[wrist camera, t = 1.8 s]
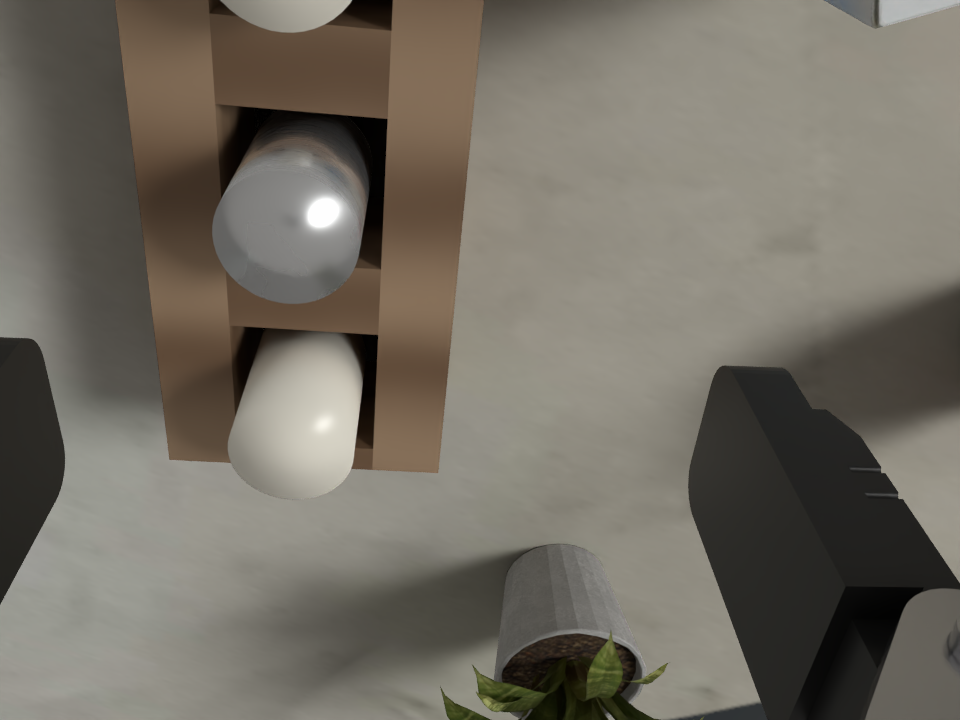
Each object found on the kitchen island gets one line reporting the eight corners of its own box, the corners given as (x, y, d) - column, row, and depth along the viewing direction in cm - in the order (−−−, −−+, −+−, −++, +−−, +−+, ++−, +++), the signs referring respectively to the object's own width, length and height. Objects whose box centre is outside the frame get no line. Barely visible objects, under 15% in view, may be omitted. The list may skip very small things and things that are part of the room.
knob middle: (248, 97, 28) (207, 164, 23) (375, 108, 28) (361, 177, 23) (253, 214, 30) (217, 299, 25) (371, 222, 30) (358, 308, 25)
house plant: (704, 438, 41) (841, 765, 27) (722, 630, 48) (837, 963, 34) (408, 496, 42) (395, 837, 28) (470, 674, 49) (484, 1013, 36)
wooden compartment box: (153, -253, 25) (83, -265, 20) (491, -212, 26) (504, -213, 21) (205, 370, 37) (169, 459, 32) (437, 384, 38) (438, 473, 33)
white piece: (257, 303, 32) (224, 398, 27) (367, 310, 32) (354, 405, 27) (261, 392, 34) (231, 496, 29) (364, 398, 34) (352, 502, 29)
